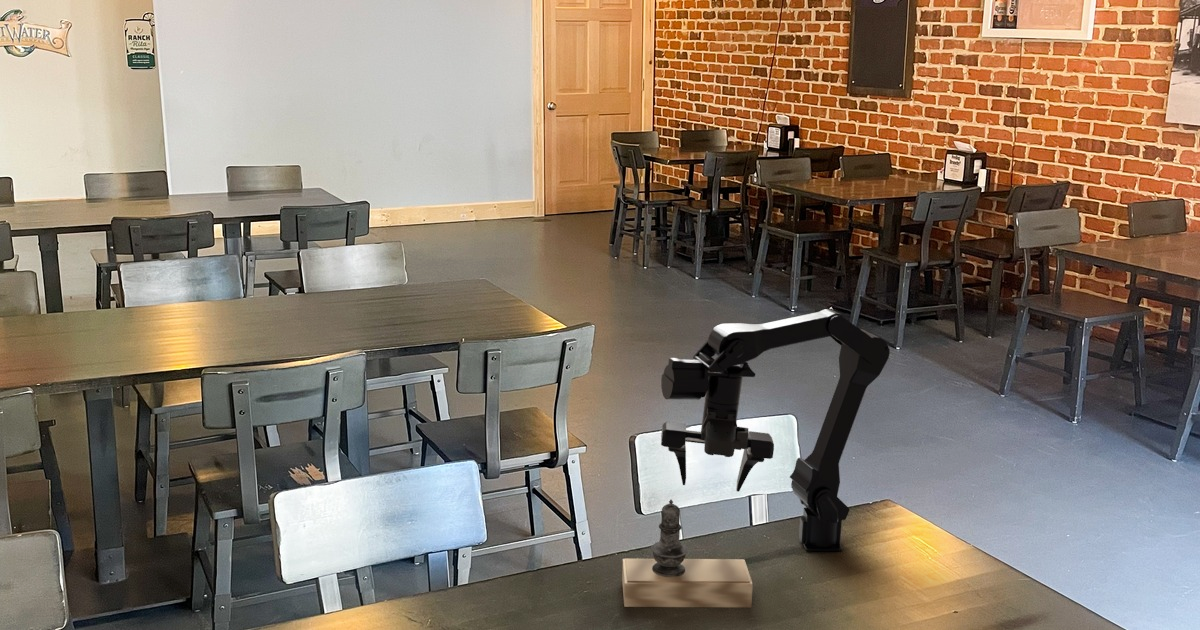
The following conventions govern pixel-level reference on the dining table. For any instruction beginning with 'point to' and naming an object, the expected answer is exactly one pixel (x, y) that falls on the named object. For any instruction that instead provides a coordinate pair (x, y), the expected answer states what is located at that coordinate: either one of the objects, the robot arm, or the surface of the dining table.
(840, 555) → the dining table surface
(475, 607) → the dining table surface
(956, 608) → the dining table surface
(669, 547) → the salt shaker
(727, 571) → the tan wooden block
